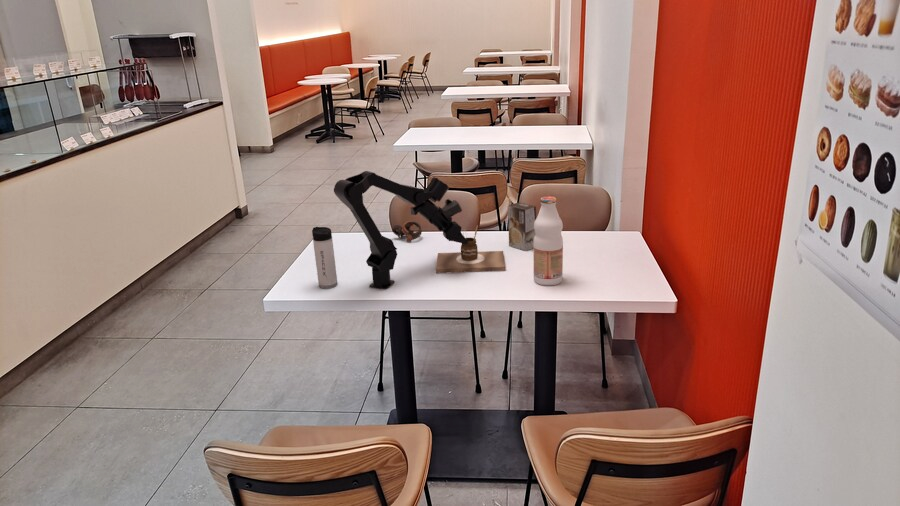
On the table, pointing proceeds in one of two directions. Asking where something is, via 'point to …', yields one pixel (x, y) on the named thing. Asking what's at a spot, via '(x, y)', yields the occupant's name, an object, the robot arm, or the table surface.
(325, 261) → the travel mug
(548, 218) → the fruit juice
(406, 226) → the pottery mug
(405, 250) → the table surface
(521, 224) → the coffee box
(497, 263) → the walnut board
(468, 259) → the utensil holder
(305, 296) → the table surface
